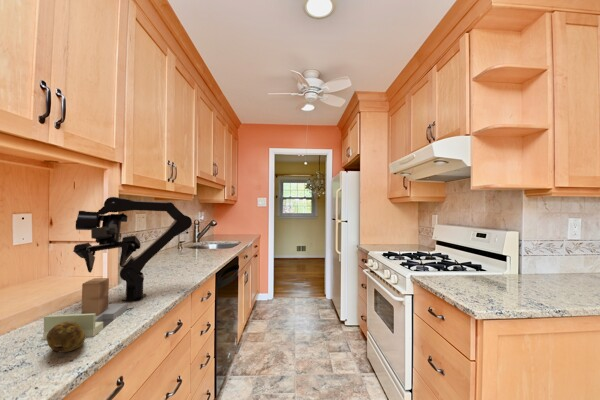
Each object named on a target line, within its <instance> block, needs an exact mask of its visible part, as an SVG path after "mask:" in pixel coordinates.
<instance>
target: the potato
mask: <svg viewBox="0 0 600 400" xmlns="http://www.w3.org/2000/svg"><path fill="white" fill-rule="evenodd" d="M46 338H47V339H46V342H47V345H48V347H49V348H50V349H51V350H52V353H54V354H57V353H68V352H71V351H74V350H77V349H78V348H80V347H81V346H82V345H83V343H84V342H85V339H86V337H85V332H84V330H83V329H82V327H81V326H80V325H79V324H77V323H75V322H62V323H59V324H57V325H55V326H54V327H53V328H52V329H51V330H50V331H49V332H48V334H47V337H46Z"/></svg>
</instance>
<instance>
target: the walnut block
mask: <svg viewBox="0 0 600 400" xmlns="http://www.w3.org/2000/svg"><path fill="white" fill-rule="evenodd" d="M109 283H110V278H109V277H99V278H98V277H97V278H96V277H95V278H92V279H89V280H87V281H85V282H83V283H82V284H81V285H82V286H81V309H82V314H92V313H96V316H99V315H100V314H101V313H103V312H104V311H106V310H107V309H108V304H109V293H110V292H109V289H110V284H109Z"/></svg>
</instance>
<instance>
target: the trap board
mask: <svg viewBox="0 0 600 400" xmlns="http://www.w3.org/2000/svg"><path fill="white" fill-rule="evenodd" d="M127 309H128V303H127V302H126V303H108V309H107V310H106V311H104V312H103V313H101V314H100V315H99V316H96V313H92V314H82V308H80V309H78V311H75V313H73V314H71V313H70V314H53V315H52V314H51V315H50V314H47V315H45V316H43V340H45V341H46V340H47V338H46V337H47V334H48V332H49V331H50V330H51V329H52V328H53V327H54V326H55V325H57V324H59V323H62V322H75V323H77V324H79V325H80V326H81V327H82V329H83V330H84V332H85V338H93V337H95V336H96V335H97V334H98V333H100V332H101V331H103V330H104V329H105V328H106V327H107V326H108V325H110V324H111V323H112V322H113V321H114V320H115V319H116V317H117V318H118V317H119V316H121V314H123V313H124V312H125V311H127Z"/></svg>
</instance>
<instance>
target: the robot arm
mask: <svg viewBox="0 0 600 400" xmlns="http://www.w3.org/2000/svg"><path fill="white" fill-rule="evenodd" d="M131 211H142V212H143V211H144V212H145V211H147V212H149V211H151V212H166V213H167V214H168V215H169V216H170V218H172V219H173V221H172V223H171V224H170V226H169V227H168V229H167V230H166V231H165V232H163V234H161V235H160V236H159V237H158V238H157V239H156V240H155V241H153V242H152V243H151V244H150V245H148V247H146V248H145V249H144V250H143V251H142V252H141V253H140V254H139V255H137V256H135V257H134V256H133V255H132V254H133V253H134V252H137V250H139V249H141V241H140V239H138V237H137V236H136V235H134V234H133V235H127V236H123V237H122V234H121V227H122V222H123V223H127V222H128V215H127V214H125V212H131ZM77 213H78V214H77V219H76V220H75V230H76V231H91V232H90V233H91V236H90V237H91V239H92V240H93V239H94V240H95V243H97V244H95V245H92V244H91V243H90V242H83V243H77V244H75V246H74V247H73V251H72V252H73V253H74V254H76V255H77V256H78V257H79V258H81V259H83V260H84V262H85V264H86V267H87V269H86V270H87V272H88V273H92V271H93V268H94V263H95V260H96V256H95V255H96V252H99V251H105V250H112V249H118V248H121V252H120V259H119V267H120V270H119V277H120V279H121V280H123V281H125V282H126V283H125V297H124V298H122V299H121V302H132V301H135V302H137V301H138V302H139V301H141V300H143V299H144V298H145V297H146V296H147V295H148V294H147V293H144V280H145V277H144V272H143V271H142V270H143V269H144V267H145V265H146V264H147V263H148V262H149V261H150V260H151V259H153V258H154V256H155V255H157V254H158V253H159V252H160V251H161V250H162V249H163V248H164V247H165V246H167V245H168V244H169V242H171V241H172V240H173V239H174V238H175V237H177V236H179V235H181V234H182V233H184V232H185V231H187V230H188V229H189V228H191V226H192V225H193V220H192V218H191V217H190V216H188V215H185V214H184V213H182V211H180V209H178V208H177V206H175V204H174V203H173V202H171V201H170V202H169V201H165V202H162V201H159V202H158V201H142V200H131V199H126V198H122V197H117V196H109V197H107V198H106V200H105V201H104V202H103V206H102V207H101V208H100V209H98V211H88V210H87V211H86V210H78V212H77ZM108 213H111V214H108ZM101 223H102V224H101ZM101 225H102V226H101ZM120 237H122V240H121V241H120Z"/></svg>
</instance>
